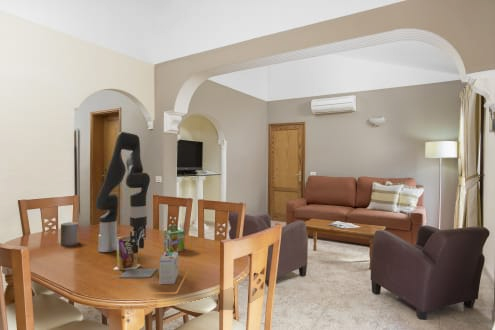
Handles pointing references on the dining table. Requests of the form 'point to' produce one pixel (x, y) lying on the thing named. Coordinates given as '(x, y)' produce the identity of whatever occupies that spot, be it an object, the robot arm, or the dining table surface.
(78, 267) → the dining table surface
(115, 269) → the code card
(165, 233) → the chalk box
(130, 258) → the candy box
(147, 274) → the slate coaster
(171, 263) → the light bulb box
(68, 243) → the pillar candle
